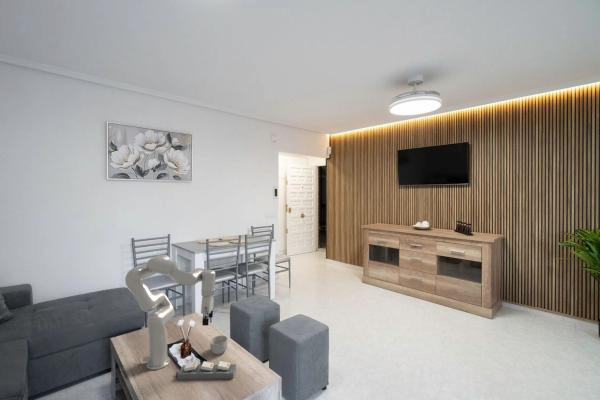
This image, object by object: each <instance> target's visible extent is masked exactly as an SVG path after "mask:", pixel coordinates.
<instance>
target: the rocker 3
mask: <svg viewBox="0 0 600 400" xmlns="http://www.w3.org/2000/svg"><path fill="white" fill-rule="evenodd" d="M230 364H231V362H228V361H221V360H220V361H219V363H218V364H217V365H218V368H217V369H222V370H229V367H230Z"/></svg>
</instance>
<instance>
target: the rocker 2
mask: <svg viewBox="0 0 600 400" xmlns="http://www.w3.org/2000/svg"><path fill="white" fill-rule="evenodd" d="M201 365H202V366H201V369H204V370H209V371H212V369H213V367H214V365H215V363H214V362H210V361H205V360H204V361H203V362H202V364H201Z"/></svg>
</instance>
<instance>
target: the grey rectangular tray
mask: <svg viewBox="0 0 600 400" xmlns="http://www.w3.org/2000/svg"><path fill="white" fill-rule="evenodd" d="M218 365H219V364H214V367H213V369H212V371H209V370H204V369H201V366H202V364H198V365H197V367H196V369H193V370H189V371H184V368H185V366H186V364H185V365H182V367H181V368H180V370H179V371H177V372H176V376H177V381H179V380H180V381H181V380H184V381H185V380H227V379H228V380H231V379H232V380H233V379H234V378H235V375H236V371H237V364H236V363H235V364H233V363H232V364H231V363H230V367H229V370H222V369H217V368H218Z"/></svg>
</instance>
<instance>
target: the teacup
mask: <svg viewBox="0 0 600 400" xmlns="http://www.w3.org/2000/svg"><path fill="white" fill-rule="evenodd" d="M209 346H210V351H211V353H212V354H214V355H221V354H223V353H225V351H226V350H227V349H228V337H227V335H224V334H223V333H221V334H220V335H217V336H214V337H212V338H211V339H210V340H209Z"/></svg>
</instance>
